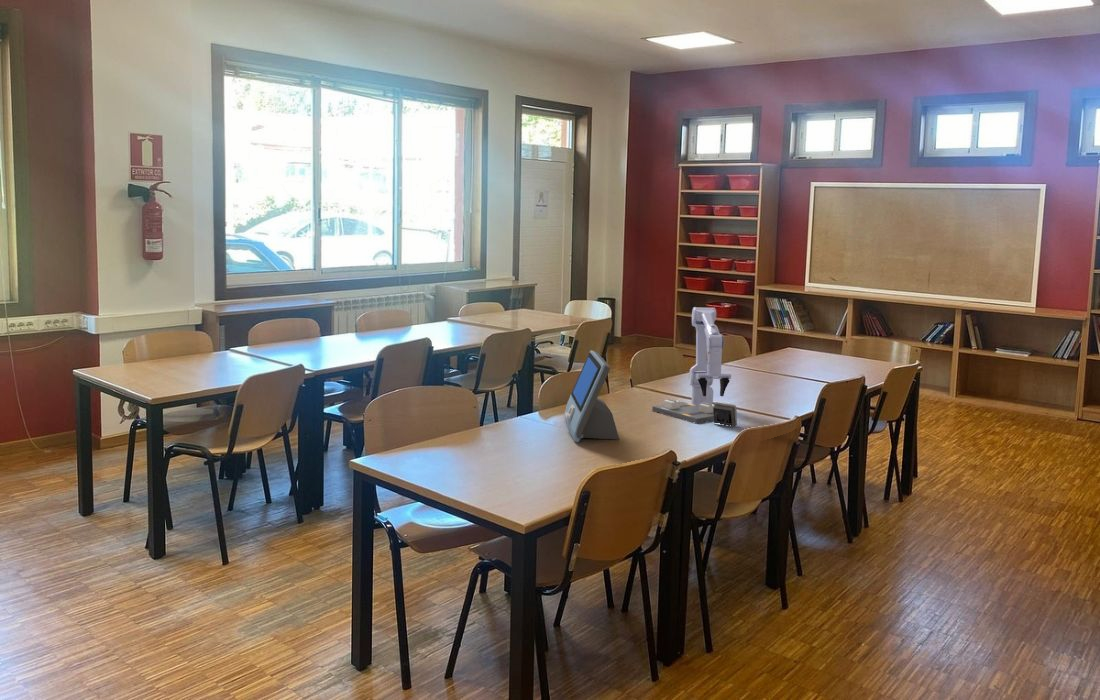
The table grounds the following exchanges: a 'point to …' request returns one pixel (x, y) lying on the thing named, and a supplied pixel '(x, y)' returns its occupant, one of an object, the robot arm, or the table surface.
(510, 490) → the table surface
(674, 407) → the slider
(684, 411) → the switch panel
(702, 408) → the slider
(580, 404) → the touchscreen device
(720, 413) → the electrical switch
